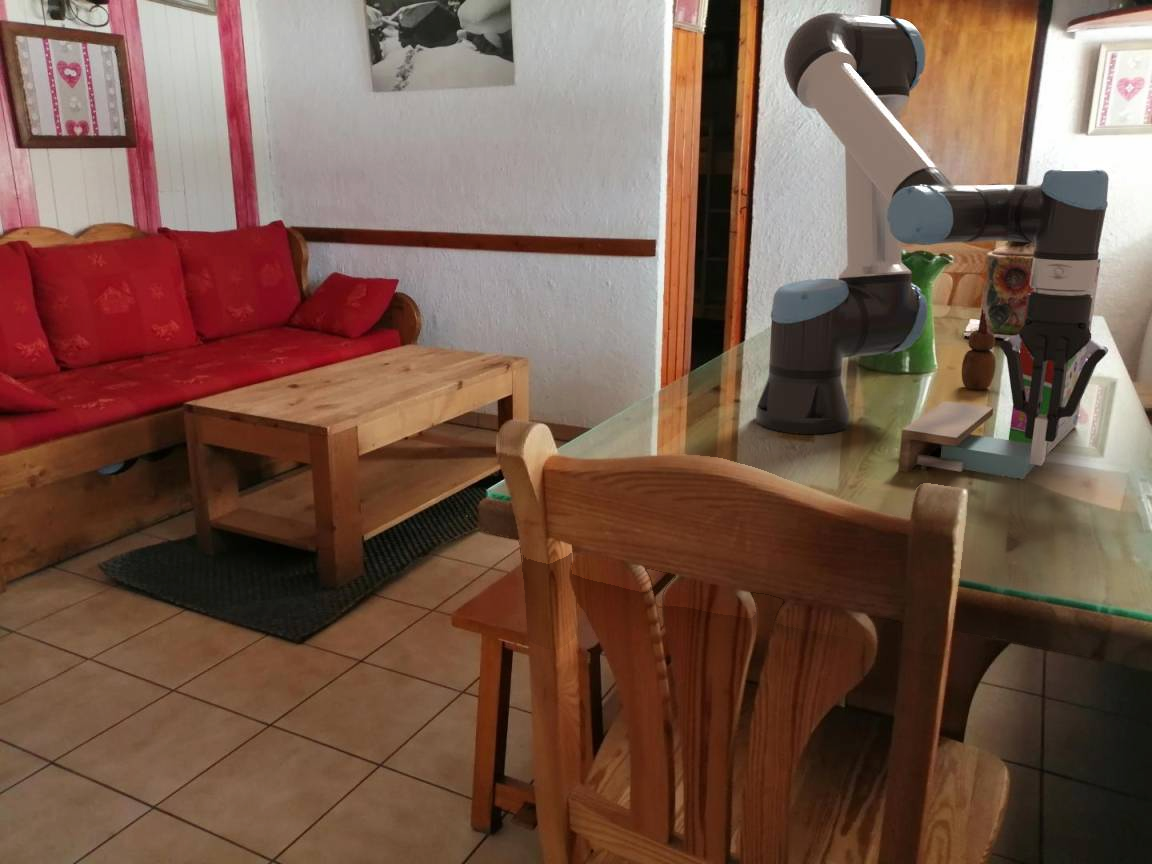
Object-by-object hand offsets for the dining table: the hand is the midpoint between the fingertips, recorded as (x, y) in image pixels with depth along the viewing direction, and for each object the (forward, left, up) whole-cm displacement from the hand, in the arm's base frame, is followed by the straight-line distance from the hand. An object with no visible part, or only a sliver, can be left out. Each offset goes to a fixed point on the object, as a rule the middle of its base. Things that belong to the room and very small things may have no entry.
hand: (1037, 462), depth 125 cm
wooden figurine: (-20, +49, -2) cm, 53 cm away
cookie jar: (-27, +118, -2) cm, 121 cm away
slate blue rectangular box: (-6, 0, -2) cm, 6 cm away
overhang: (-12, 0, -2) cm, 12 cm away
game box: (-3, +19, -2) cm, 19 cm away
